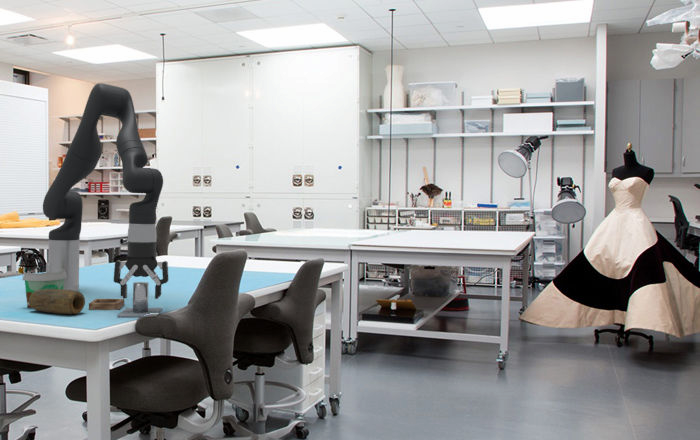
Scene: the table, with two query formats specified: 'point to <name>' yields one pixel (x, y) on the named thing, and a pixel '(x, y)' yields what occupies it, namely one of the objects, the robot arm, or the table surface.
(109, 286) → the table surface
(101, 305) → the socket
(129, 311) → the mat
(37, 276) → the food container
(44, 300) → the brown wooden cylinder
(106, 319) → the table surface
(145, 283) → the steel pin
